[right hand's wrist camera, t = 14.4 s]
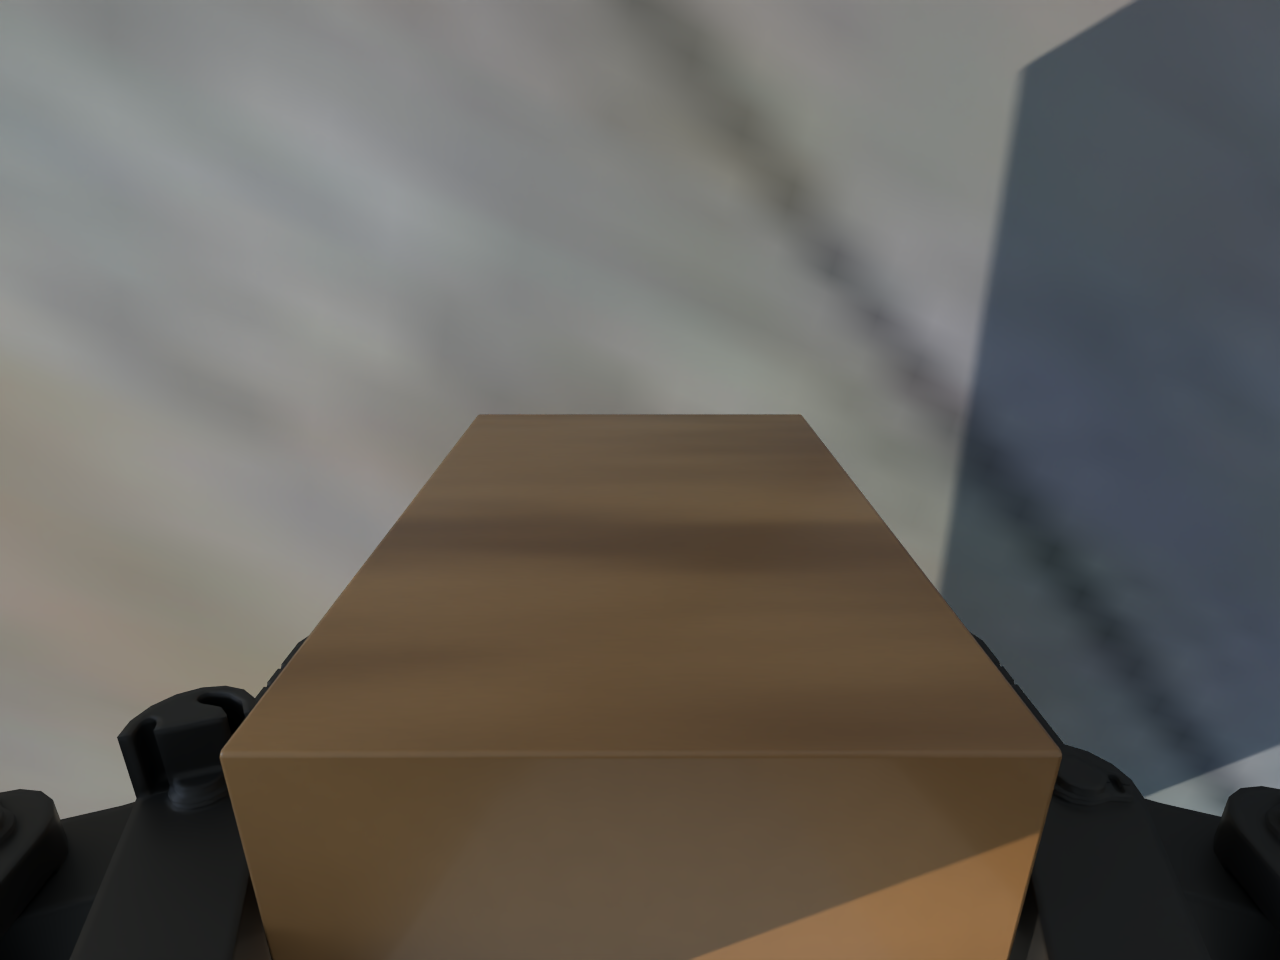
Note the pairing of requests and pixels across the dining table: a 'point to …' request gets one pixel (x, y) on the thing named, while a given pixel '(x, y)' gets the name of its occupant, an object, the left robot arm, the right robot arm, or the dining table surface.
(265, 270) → the dining table surface
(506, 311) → the dining table surface
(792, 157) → the dining table surface
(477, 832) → the box
